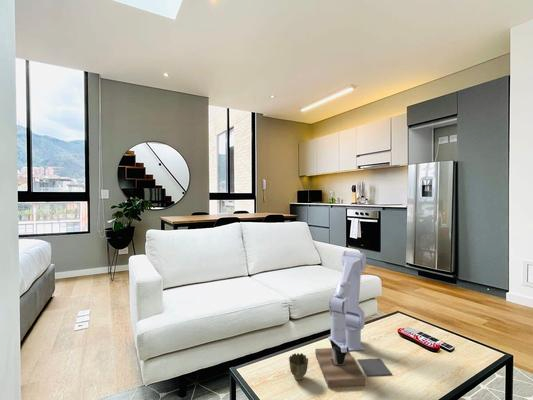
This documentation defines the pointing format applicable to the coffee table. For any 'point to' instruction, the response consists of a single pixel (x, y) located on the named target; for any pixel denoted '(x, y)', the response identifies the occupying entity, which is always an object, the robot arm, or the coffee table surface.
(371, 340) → the coffee table surface
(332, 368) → the brown wooden socket board
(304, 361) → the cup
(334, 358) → the plug
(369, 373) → the mat
